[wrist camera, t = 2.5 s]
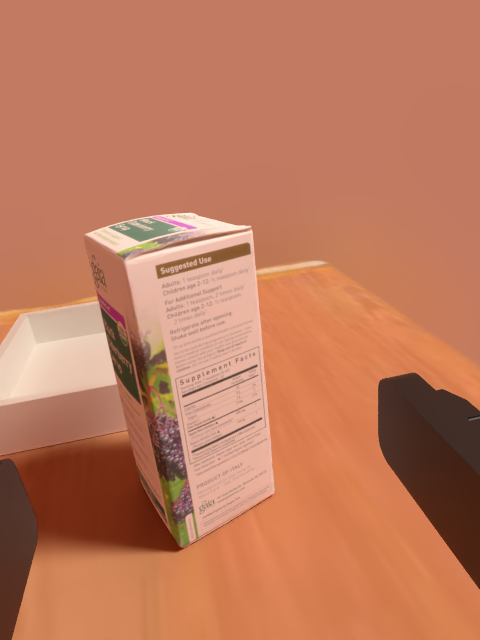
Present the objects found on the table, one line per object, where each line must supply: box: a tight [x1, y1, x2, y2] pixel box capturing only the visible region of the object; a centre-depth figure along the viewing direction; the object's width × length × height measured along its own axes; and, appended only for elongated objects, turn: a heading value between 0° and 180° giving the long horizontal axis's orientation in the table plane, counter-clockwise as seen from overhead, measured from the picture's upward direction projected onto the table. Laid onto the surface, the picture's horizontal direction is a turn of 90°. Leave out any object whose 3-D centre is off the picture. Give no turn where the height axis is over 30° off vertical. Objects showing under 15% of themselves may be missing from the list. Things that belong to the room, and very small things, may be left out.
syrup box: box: [84, 213, 275, 548], centre depth 22 cm, size 6×6×14 cm
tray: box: [0, 301, 128, 456], centre depth 37 cm, size 16×16×4 cm
